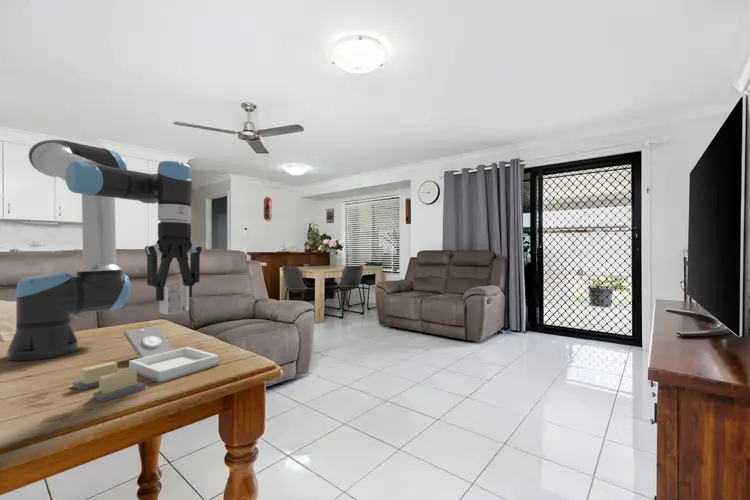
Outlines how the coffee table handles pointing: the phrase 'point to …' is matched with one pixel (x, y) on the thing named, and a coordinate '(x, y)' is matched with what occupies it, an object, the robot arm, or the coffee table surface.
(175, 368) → the parts tray
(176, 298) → the chess piece
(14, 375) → the coffee table surface
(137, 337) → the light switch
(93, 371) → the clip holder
